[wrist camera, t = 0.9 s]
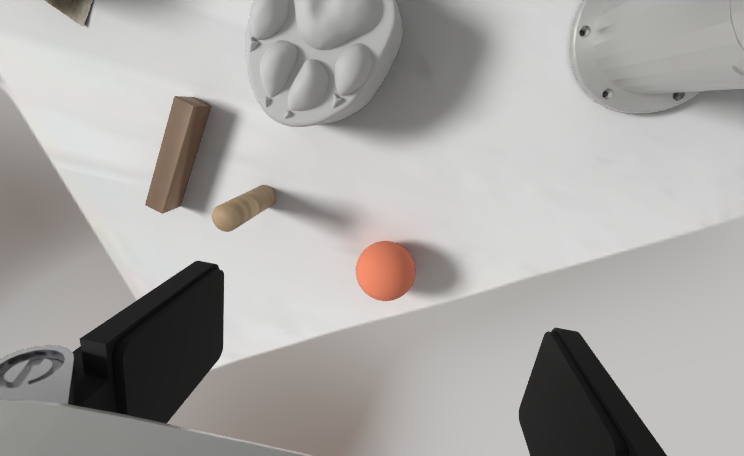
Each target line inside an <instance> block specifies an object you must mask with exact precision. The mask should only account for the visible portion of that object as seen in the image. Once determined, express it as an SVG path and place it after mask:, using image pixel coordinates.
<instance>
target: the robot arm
mask: <svg viewBox="0 0 744 456" xmlns="http://www.w3.org/2000/svg"><path fill="white" fill-rule="evenodd" d="M580 30H582V31H583V32H584V34H583V36H580V34H579V31H580ZM570 58H571V65H572V69H573V71H574V74H575V77H576V79H577V81H578V83H579V84H580V86H581V87H582V89H583V90H584V92H585V93H586V94H588V95H589V96H590V97H591V98H592V99H593V100H594V101H595V102H597V103H599V104H601V105H602V106H604V107H606V108H609V109H612V110H615V111H618V112H624V113H633V114H634V113H645V114H646V113H652V112H658V111H663V110H666V109H669V108H672V107H675V106H678V105H680V104H682V103H684V102H685V101H687V100H689V99H691V98H693V97H694V96H696V95H697V94H699V93H700V92H701V91H711V90H728V89H744V0H583V1H582V3H581V5H580V7H579V9H578V12H577V14H576V17H575V19H574V22H573V27H572V31H571V36H570ZM604 91H605V92H606V96H605V97H603V95H602V94H603V92H604ZM673 94H675V96H674V98H673ZM223 312H224V273H223V271H222V270H219V267H218V265H217V264H212V263H207V262H202V261H196V262H194V263H192V264H191V265H189V266H188V267H186V268H185V269H183V270H182V271H180V272H179V273H177V274H176V275H174V276H173V277H171V278H170V279H168V280H167V281H165V282H164V283H162V284H161V285H159V286H158V287H156V288H155V289H153V290H152V291H151V292H149V293H148V294H146V295H145V296H143V297H142V298H140V299H139V300H137V301H136V302H134V303H133V304H131V305H130V306H128V307H127V308H125V309H124V310H122V311H121V312H119V313H118V314H116V315H115V316H113V317H112V318H111V319H109V320H107V321H106V322H104V323H103V324H101V325H100V326H98V327H97V328H95V329H94V330H92V331H91V332H89V333H88V334H86V335H85V336H83V337H82V338H80V343H81V346H80V347H79V348H78V349H76V350H75V351H73V352H71V351H70V350H69V349H68V348H65V347H62V346H55V345H45V346H36V347H31V348H27V349H23V350H19V351H17V352H14V353H11V354H9V355H6V356H4V357H2V358H1V359H0V456H313V455H308V454H304V453H299V452H294V451H290V450H285V449H281V448H277V447H272V446H268V445H263V444H258V443H253V442H249V441H245V440H240V439H235V438H231V437H226V436H221V435H217V434H212V433H208V432H203V431H198V430H194V429H189V428H184V427H180V426H175V425H171V424H166V423H167V422H168V421H169V420H170V418H171V417H172V416H173V415H174V414H175V412H176V411H177V410H178V409H179V407H180V406H181V405H182V404H183V403H184V401H185V400H186V399H187V398H188V396H189V395H190V394H191V393H192V391H193V390H194V389H195V388H196V386H197V385H198V384H199V383H200V382H201V380H202V379H203V378H204V376H205V375H206V374H207V373H208V372H209V370H210V369H211V368H212V367H213V366H214V364H215V363H216V362H217V361H218V359H219V358H220V356H221V353H222V350H223ZM519 421H520V424H521V427H522V431H523V434H524V437H525V440H526V443H527V446H528V450H529V453H530V456H667V455H666V454H665V452H664V451H663V450H662V448H661V447H660V445H659V444H658V442H657V441H656V440H655V438H654V437H653V435H652V434H651V433H650V431H649V430H648V428H647V427H646V426H645V424H644V423H643V421H642V420H641V419H640V417H639V416H638V415H637V413H636V412H635V410H634V409H633V407H632V406H631V405H630V404H629V402H628V400H627V399H626V398H625V396H624V395H623V394H622V392H621V391H620V389H619V388H618V386H617V385H616V384H615V382H614V381H613V380H612V378H611V377H610V375H609V374H608V372H607V371H606V370H605V368H604V367H603V366H602V364H601V363H600V361H599V360H598V358H597V357H596V356H595V354H594V353H593V352H592V350H591V349H590V347H589V346H588V344H587V343H586V342H585V340H584V339H583V337H582V336H581V335H580V334H579V333H578V332H576V331H571V330H565V329H560V328H554V329H553V330H552V331H551V332H546V333H545V335H544V337H543V340H542V343H541V346H540V349H539V352H538V355H537V358H536V361H535V364H534V367H533V370H532V373H531V376H530V378H529V381H528V385H527V388H526V390H525V394H524V396H523V399H522V402H521V405H520V409H519Z"/></svg>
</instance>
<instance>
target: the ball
mask: <svg viewBox="0 0 744 456" xmlns="http://www.w3.org/2000/svg"><path fill="white" fill-rule="evenodd" d="M356 277H357V280H358V283H359V285H360V287H361V288H362V290H363V291H364V292H365V293H366V294H367V295H369V296H370V297H372V298H374V299H377V300H381V301H390V300H395V299H397V298H399V297H401V296H403V295H404V294H405V293H406V292H407V291H408V290H409V289H410V287H411V286H412V284H413V281H414V278H415V264H414V261H413V259H412V257H411V255H410V253H409V252H408V251H407V250H406V249H405V248H404V247H402V246H401V245H399V244H397V243H394V242H390V241H381V242H377V243H374V244H372V245H370V246H369V247H367V248H366V249H365V250H364V251H363V252H362V253H361V255H360V257H359V259H358V261H357V265H356Z"/></svg>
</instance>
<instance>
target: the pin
mask: <svg viewBox="0 0 744 456" xmlns="http://www.w3.org/2000/svg"><path fill="white" fill-rule="evenodd" d="M275 200H276V194H275V192H274V190H273V189H272V188H271V187H269V186H267V185H261V186H259V187H257V188H255V189H253V190H251V191H249V192H246V193H244V194H242V195H240V196H238V197H236V198H234V199H232V200H230V201H227V202H225V203H223V204H221V205H219V206H217V207H216V208H215V209H214V210H213V212H212V220H213V223H214V224H215V226H216V227H217V228H218V229H220V230H222V231H226V232H228V231H232V230H234V229H235V228H237V227H239V226H240V225H242V224H243V223H245V222H246V221H248V220H250V219H251V218H253V217H254V216H256V215H257V214H259V213H261V212H262V211H264V210H265V209H267V208H268V207H270V206H272V205H273V204H274V203H275Z"/></svg>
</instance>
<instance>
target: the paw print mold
mask: <svg viewBox="0 0 744 456" xmlns="http://www.w3.org/2000/svg"><path fill="white" fill-rule="evenodd" d="M402 37H403V25H402V20H401V16H400V12H399V9H398V6H397V2H396V0H254V1H253V3H252V6H251V10H250V18H249V21H248V25H247V29H246V61H247V71H248V76H249V80H250V83H251V87H252V89H253V92H254V94H255V96H256V98H257V100H258V102H259V104H260V106H261V108H262V109H263V110H264V112H265V113H266V114H267V115H268V116H269V117H271V118H272V119H273V120H275V121H277V122H278V123H281V124H284V125H287V126H292V127H305V126H313V125H319V124H325V123H332V122H336V121H339V120H342V119H344V118H346V117H348V116H350V115H352V114H354V113H355V112H357V111H359V110H360V109H362V108H363V107H365V106H366V105H367V104H368V103H369V102H370V100H371V99H372V98H373V96H374V95H375V94H376V92H377V91H378V89H379V88H380V86H381V84H382V83H383V81H384V80H385V78H386V76H387V74H388V72H389V71H390V69H391V66H392V64H393V62H394V60H395V58H396V56H397V54H398V52H399V49H400V46H401V42H402Z"/></svg>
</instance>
